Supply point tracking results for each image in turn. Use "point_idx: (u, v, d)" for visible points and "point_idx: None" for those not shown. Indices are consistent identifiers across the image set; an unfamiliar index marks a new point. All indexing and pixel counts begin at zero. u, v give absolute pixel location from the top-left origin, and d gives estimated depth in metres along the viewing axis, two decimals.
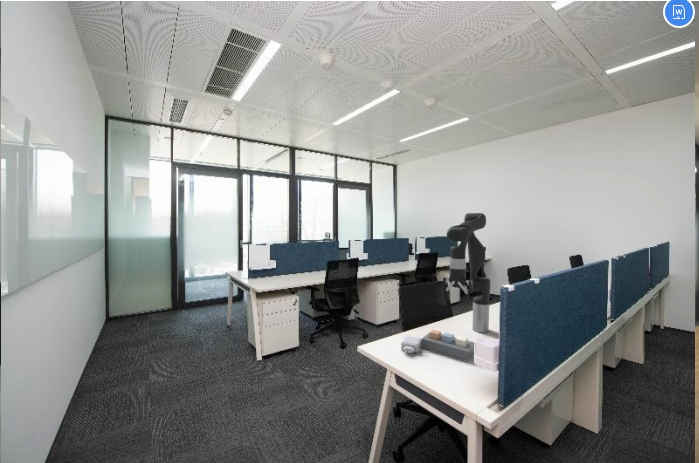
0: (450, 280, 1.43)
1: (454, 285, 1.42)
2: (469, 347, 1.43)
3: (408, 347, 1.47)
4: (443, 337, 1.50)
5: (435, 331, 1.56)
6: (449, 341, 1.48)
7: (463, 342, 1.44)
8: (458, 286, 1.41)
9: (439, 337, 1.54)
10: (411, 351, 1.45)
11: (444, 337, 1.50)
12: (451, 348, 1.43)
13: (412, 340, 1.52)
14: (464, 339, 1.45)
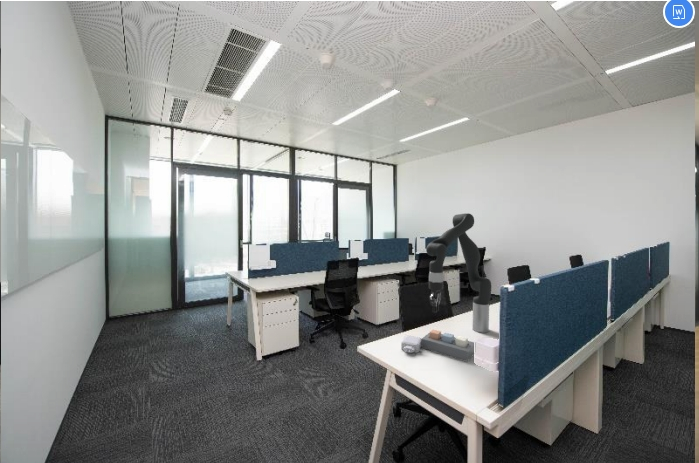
0: (435, 296, 1.51)
1: (437, 296, 1.54)
2: (469, 347, 1.43)
3: (408, 347, 1.47)
4: (443, 337, 1.50)
5: (435, 331, 1.56)
6: (449, 341, 1.48)
7: (463, 342, 1.44)
8: (437, 296, 1.54)
9: (439, 337, 1.54)
10: (411, 351, 1.45)
11: (444, 337, 1.50)
12: (451, 348, 1.43)
13: (412, 340, 1.53)
14: (464, 339, 1.45)
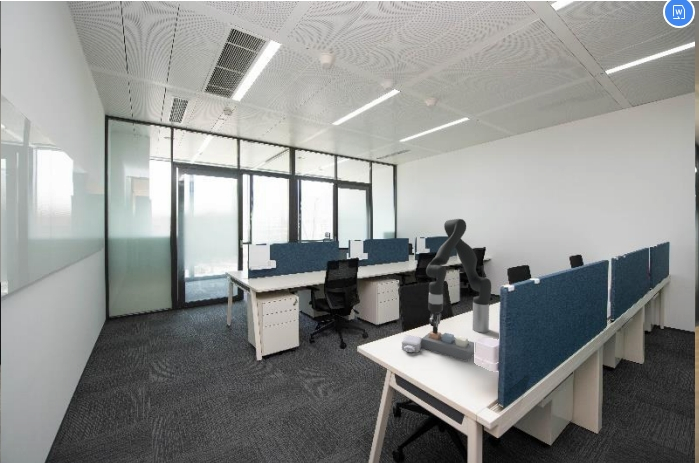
0: (435, 318, 1.52)
1: None
2: (469, 347, 1.43)
3: (409, 346, 1.48)
4: (443, 337, 1.50)
5: None
6: (449, 341, 1.48)
7: (463, 342, 1.44)
8: None
9: (439, 338, 1.54)
10: (412, 350, 1.46)
11: (444, 337, 1.50)
12: (451, 348, 1.43)
13: (413, 339, 1.53)
14: (464, 339, 1.45)
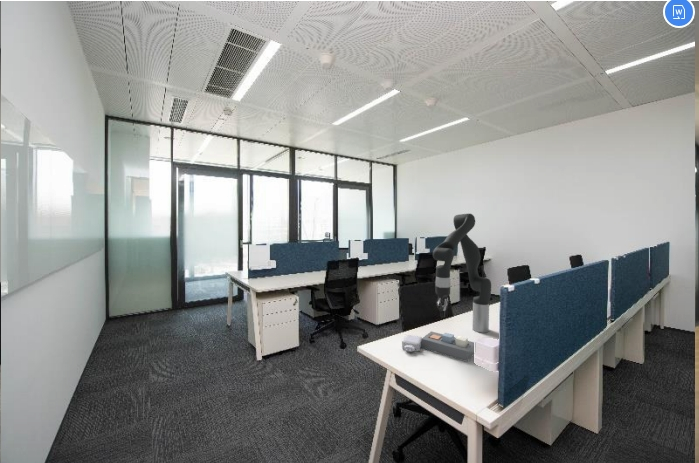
0: (442, 301, 1.49)
1: None
2: (469, 347, 1.43)
3: (409, 346, 1.48)
4: (443, 337, 1.50)
5: (435, 336, 1.56)
6: (449, 341, 1.48)
7: (463, 342, 1.44)
8: None
9: None
10: (412, 350, 1.47)
11: (444, 337, 1.50)
12: (451, 348, 1.43)
13: (413, 339, 1.54)
14: (464, 339, 1.45)
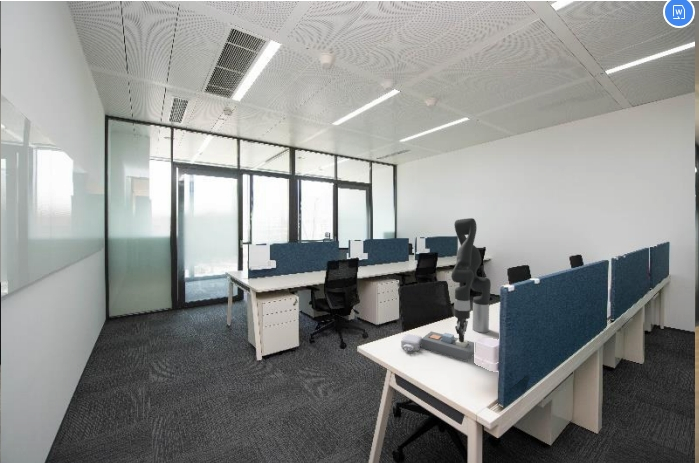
0: (462, 325, 1.43)
1: None
2: (469, 347, 1.43)
3: (408, 345, 1.49)
4: (443, 337, 1.50)
5: (435, 336, 1.56)
6: (449, 341, 1.48)
7: (463, 345, 1.44)
8: None
9: None
10: (411, 349, 1.47)
11: (444, 337, 1.50)
12: (451, 348, 1.43)
13: (412, 338, 1.55)
14: (464, 342, 1.45)
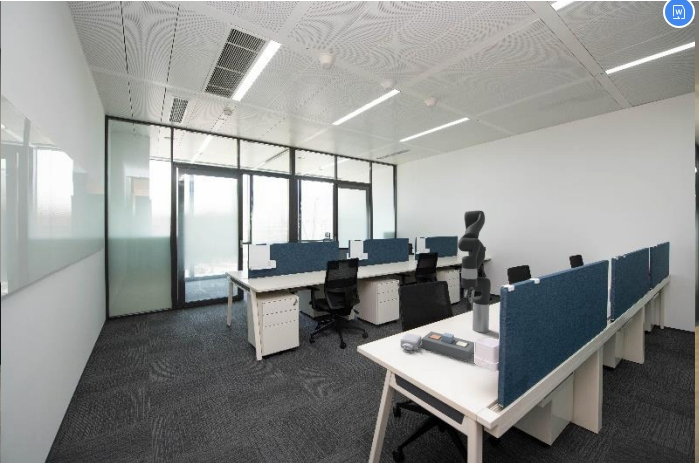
0: (469, 293, 1.44)
1: None
2: (469, 347, 1.43)
3: (407, 344, 1.50)
4: (443, 337, 1.50)
5: (435, 336, 1.56)
6: (449, 341, 1.48)
7: None
8: None
9: None
10: (409, 348, 1.48)
11: (444, 337, 1.50)
12: (451, 348, 1.43)
13: (411, 337, 1.56)
14: (464, 344, 1.45)
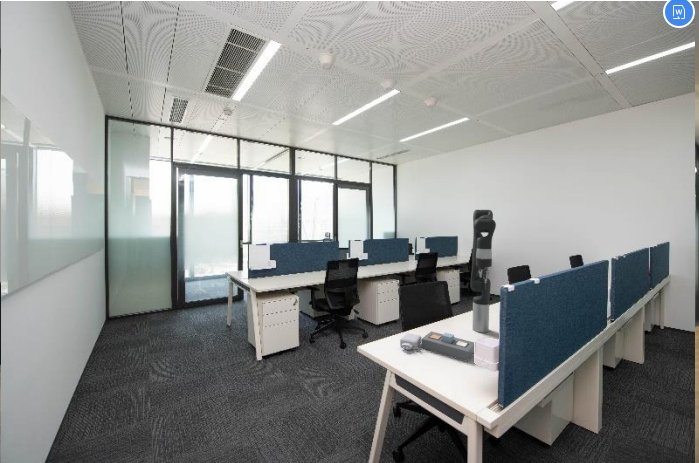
0: (484, 273, 1.47)
1: None
2: (469, 347, 1.43)
3: (406, 344, 1.51)
4: (443, 337, 1.50)
5: (435, 336, 1.56)
6: (449, 341, 1.48)
7: None
8: None
9: None
10: (409, 348, 1.49)
11: (444, 337, 1.50)
12: (451, 348, 1.43)
13: (411, 337, 1.56)
14: (464, 344, 1.45)
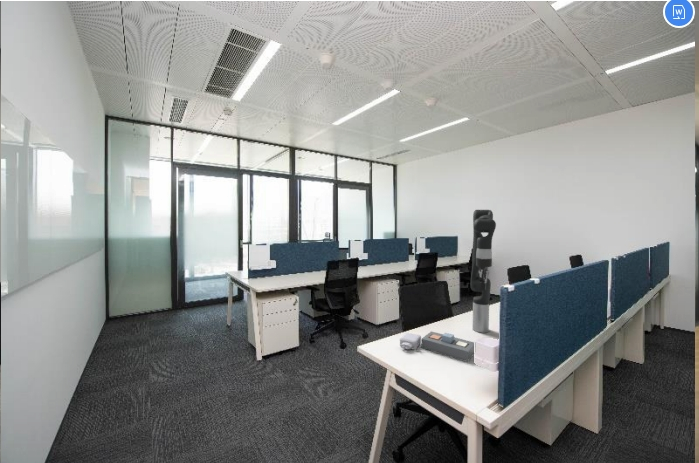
0: (484, 273, 1.47)
1: None
2: (469, 347, 1.43)
3: (406, 343, 1.51)
4: (443, 337, 1.50)
5: (435, 336, 1.56)
6: (449, 341, 1.48)
7: None
8: None
9: None
10: (408, 347, 1.49)
11: (444, 337, 1.50)
12: (451, 348, 1.43)
13: (411, 337, 1.56)
14: (464, 344, 1.45)
